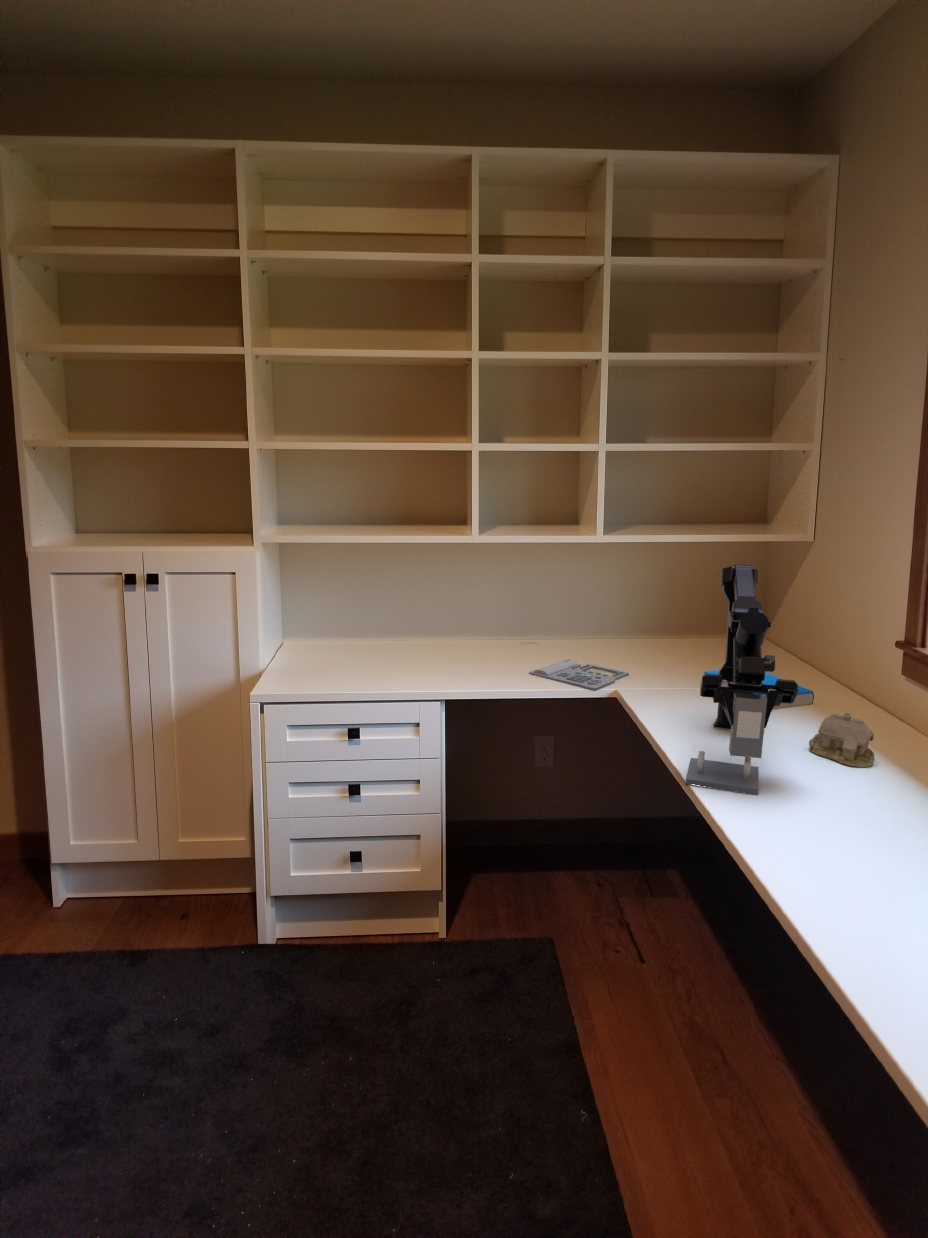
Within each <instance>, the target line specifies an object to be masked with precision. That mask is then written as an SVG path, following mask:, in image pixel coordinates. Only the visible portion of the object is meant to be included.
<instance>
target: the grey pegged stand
mask: <svg viewBox="0 0 928 1238" xmlns="http://www.w3.org/2000/svg"><path fill="white" fill-rule="evenodd" d="M705 753H706V752H705V751H704V750H699V751H698V756H697V758H695V757H690V759H689V764H688V768H687V773H686V777H685V778H686V779H685V785H688V786H692V785H691V784H695V785H700V786H706V787H705V788H707V787H711V788H710V789H714V788H717V789H716V790H721V789H723V790H722V791H727V790H730V791H729V792H734V791H737V792H736V793H741V792H745V793H744V794H748V793H752V794H751V795H755V794H758V795H759V787H760V786H759V779H760V778H759V776H760V775H759V773H760V772H759V771H760V769H759V766H754V765H751V764H752V761H751V760H752V757H744V764H741V763H740V764H739V763H732V762H726V761H720V760H719V761H718V760H712V759H705ZM700 786H699V787H700Z"/></svg>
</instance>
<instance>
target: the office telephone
mask: <svg viewBox="0 0 928 1238" xmlns="http://www.w3.org/2000/svg"><path fill="white" fill-rule="evenodd" d="M581 665H582V664H580V663H578V662H577V661H575V660H574V659H564V660H562V661H561V660H560V661H558V662H555V663H552V664H550V665H546V666H543V667H540V668H538V669H534V670H531V671H529V672H528V674H529V675H532V676H535V677H539V678H543V679H547V680H551V681H555V682H559V683H562V684H566V685H569V686H570V685H571V686H574V687H579V688H582V689H584V690H589V691H593V692H597V691H599V690H601V689H603V688H606V687H608V686H611V685H613V684H615V683H616V681H618V680H622V678H625V677H629V676H630V672H628V671H624V670H621V669H620V670H618V669H616V668H615V669H614V668H610V667H605V666H601V665H596V664H592V663H587V664H585V665H582V666H581ZM592 669H594V670H595V669H596V670H598V671H602V672H603V671H604V672H607V673H612V675H608V674H605V673H603V674H602V673H600V672H594V671H591V670H592Z"/></svg>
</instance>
